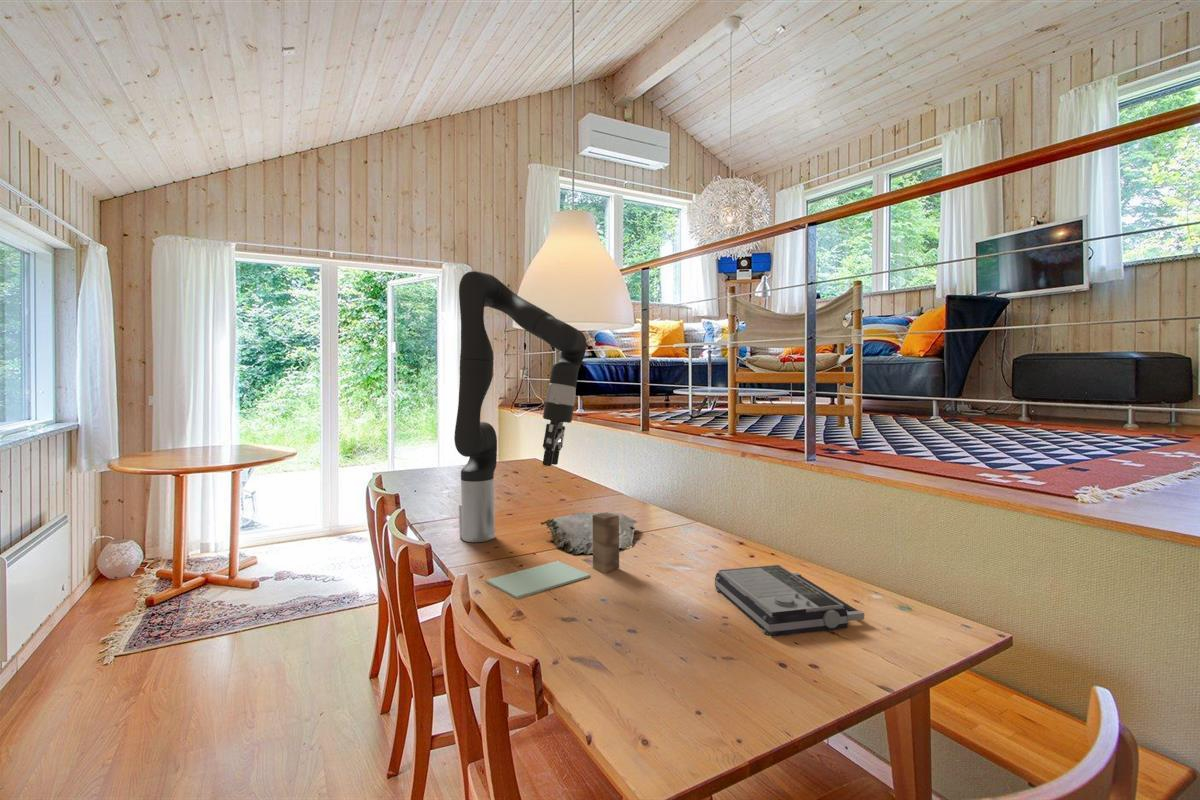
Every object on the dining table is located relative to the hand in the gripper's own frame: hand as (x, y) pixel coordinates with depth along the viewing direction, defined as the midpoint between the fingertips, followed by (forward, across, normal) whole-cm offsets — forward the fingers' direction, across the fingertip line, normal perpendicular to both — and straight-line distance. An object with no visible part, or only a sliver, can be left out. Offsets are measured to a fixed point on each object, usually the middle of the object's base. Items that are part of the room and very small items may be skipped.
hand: (550, 465), depth 151 cm
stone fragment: (+20, -19, +12) cm, 31 cm away
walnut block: (+22, +6, +19) cm, 29 cm away
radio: (+20, +25, +57) cm, 65 cm away
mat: (+25, +14, +4) cm, 29 cm away
